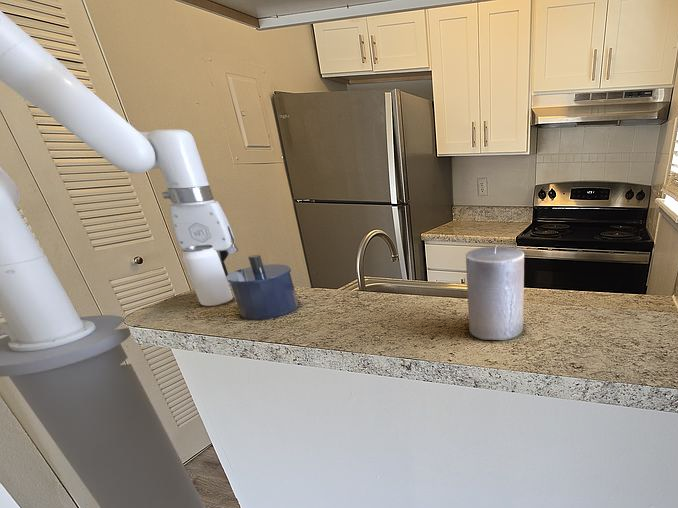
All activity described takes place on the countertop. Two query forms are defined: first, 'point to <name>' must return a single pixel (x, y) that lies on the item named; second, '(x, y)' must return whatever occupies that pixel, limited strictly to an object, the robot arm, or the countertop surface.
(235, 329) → the countertop surface
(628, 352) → the countertop surface
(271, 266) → the pot lid
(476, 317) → the pillar candle
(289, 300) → the pot
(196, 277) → the can
